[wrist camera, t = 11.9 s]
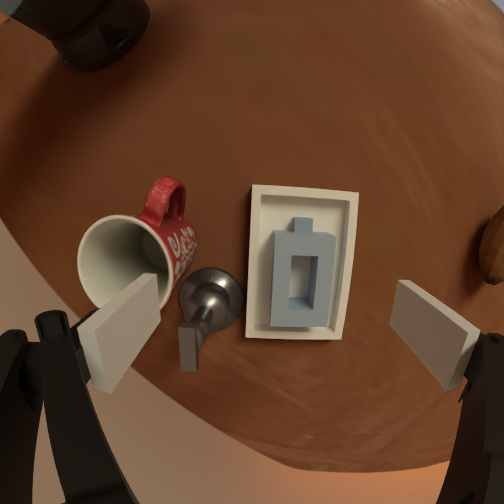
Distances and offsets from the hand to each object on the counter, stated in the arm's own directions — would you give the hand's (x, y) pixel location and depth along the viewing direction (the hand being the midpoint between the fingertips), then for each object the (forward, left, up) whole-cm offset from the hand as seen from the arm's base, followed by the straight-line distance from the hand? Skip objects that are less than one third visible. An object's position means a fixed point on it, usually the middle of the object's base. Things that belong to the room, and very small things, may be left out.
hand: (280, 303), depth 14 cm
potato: (-3, +35, -20) cm, 40 cm away
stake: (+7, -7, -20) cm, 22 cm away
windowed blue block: (+3, +4, -19) cm, 20 cm away
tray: (+2, +4, -20) cm, 20 cm away
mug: (-1, -11, -20) cm, 23 cm away
